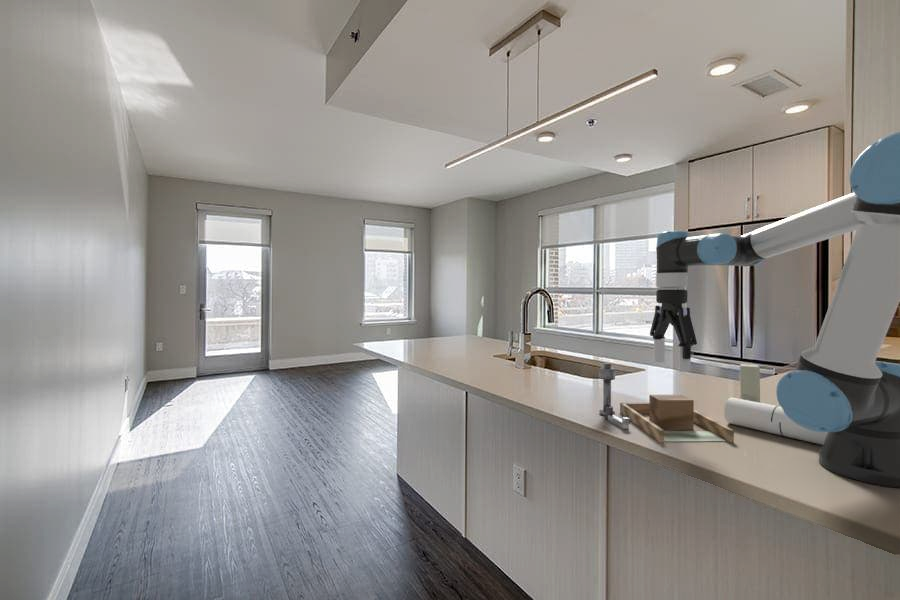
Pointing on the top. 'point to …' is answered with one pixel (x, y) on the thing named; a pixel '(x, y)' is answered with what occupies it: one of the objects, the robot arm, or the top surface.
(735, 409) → the cylindrical container
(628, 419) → the crank handle
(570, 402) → the top surface
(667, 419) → the block
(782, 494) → the top surface
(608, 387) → the post
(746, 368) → the box
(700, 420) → the bay
